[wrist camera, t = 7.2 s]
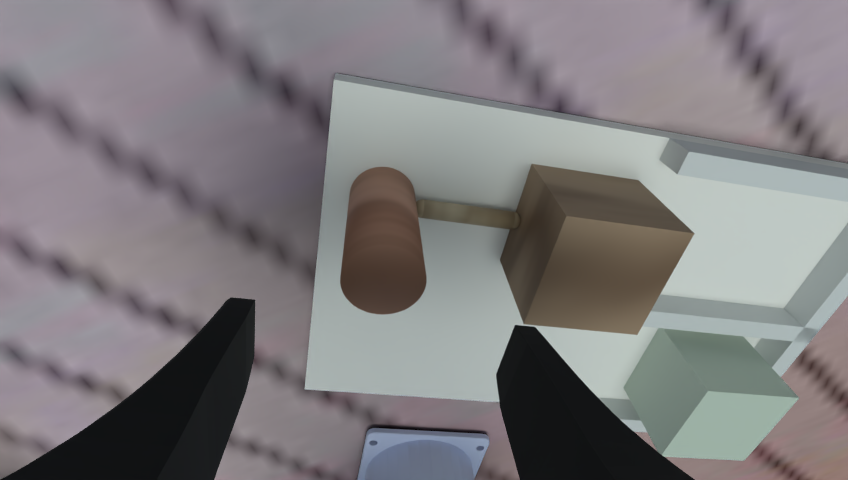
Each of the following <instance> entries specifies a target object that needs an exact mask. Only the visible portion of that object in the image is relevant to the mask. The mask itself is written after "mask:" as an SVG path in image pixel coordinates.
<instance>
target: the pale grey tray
mask: <svg viewBox="0 0 848 480" xmlns="http://www.w3.org/2000/svg"><path fill="white" fill-rule="evenodd" d="M531 164H537V165H544V166H550V167H557V168H563V169H569V170H576V171H582V172H589V173H595V174H602V175H608V176H615V177H621V178H628V179H634V180H639V181H640V182H641V183H642V184H643V185H644V186H645V187H646V188H647V189H648V190H649V191H650V192H651V193H653V194H654V195H655V196H656V197H657V198H658V199H659V200H660V201H661V202H662V203H663V204H664V205H665V206H666V207H667V208H668V209H669V210H670V211H671V212H673V213H674V214H675V215H676V216H677V217H678V218H679V219H680V220H681V221H682V222H683V223H684V224H685V225H686V226H687V227H688V228H689V229H690V230H691V231H693V232H694V233H695V234H694V235H693V237H692V239H691V241H690V243H689V244H688V246H687V248H686V250H685V251H684V253H683V255H682V257H681V258H680V260H679V262H678V264H677V266H676V267H675V269H674V271H673V273H672V274H671V276H670V278H669V280H668V281H667V283H666V285H665V287H664V289H663V290H662V292H661V294H660V296H659V297H658V299H657V301H656V303H655V304H654V306H653V308H652V310H651V312H650V313H649V315H648V317H647V319H646V320H645V322H644V324H643V326H642V327H641V329H640V331H639V333H638V335H632V334H622V333H611V332H601V331H590V330H579V329H569V328H558V327H548V326H537V325H527V324H523V321H522V318H521V316H520V313H519V310H518V308H517V305H516V302H515V299H514V297H513V294H512V291H511V289H510V286H509V283H508V281H507V278H506V275H505V273H504V270H503V267H502V264H501V262H500V258H501V255H502V252H503V249H504V246H505V243H506V240H507V237H508V234H509V231H510V229H502V228H495V227H487V226H479V225H471V224H464V223H456V222H448V221H440V220H433V219H425V218H419V217H418V219H419V227H420V234H421V241H422V248H423V255H424V262H425V269H426V277H427V282H426V287H425V290H424V292H423V294H422V296H421V297H420V299H419V300H418V301H417V302H416V303H415V304H413V305H412V306H410V307H409V308H407V309H405V310H403V311H400V312H397V313H393V314H384V315H382V314H372V313H368V312H365V311H363V310H360V309H358V308H357V307H355V306H354V305H352V304H351V303H350V302H349V301H348V300H347V299H346V297H345V296H344V294H343V292H342V289H341V285H340V275H341V266H342V257H343V248H344V239H345V230H346V221H347V212H348V203H349V194H350V189H351V186H352V184H353V182H354V180H355V179H356V178H357V177H358V176H359V175H360V174H361V173H362V172H364V171H366V170H368V169H371V168H374V167H390V168H393V169H396V170H398V171H400V172H402V173H403V174H404V175H406V176H407V177H408V179H409V180H410V181H411V183H412V185H413V187H414V191H415V198H416V201H418V200H420V199H425V200H432V201H440V202H447V203H454V204H462V205H469V206H476V207H484V208H491V209H499V210H506V211H513V212H516V210H517V207H518V203H519V200H520V197H521V194H522V191H523V188H524V185H525V182H526V179H527V176H528V173H529V170H530V167H531ZM847 296H848V163H843V162H837V161H831V160H826V159H820V158H814V157H809V156H803V155H797V154H792V153H786V152H780V151H775V150H769V149H763V148H758V147H752V146H746V145H741V144H735V143H729V142H724V141H718V140H712V139H707V138H701V137H695V136H690V135H684V134H678V133H673V132H667V131H661V130H656V129H650V128H644V127H639V126H633V125H627V124H622V123H616V122H610V121H605V120H599V119H593V118H588V117H582V116H576V115H571V114H565V113H559V112H554V111H548V110H542V109H537V108H531V107H525V106H520V105H514V104H508V103H503V102H497V101H491V100H486V99H480V98H474V97H469V96H463V95H457V94H452V93H446V92H440V91H435V90H429V89H423V88H418V87H412V86H406V85H401V84H395V83H389V82H384V81H378V80H372V79H367V78H361V77H355V76H350V75H344V74H338V73H336V74H335V78H334V84H333V94H332V105H331V115H330V126H329V137H328V147H327V158H326V168H325V179H324V190H323V200H322V211H321V221H320V232H319V243H318V253H317V264H316V274H315V285H314V296H313V306H312V317H311V327H310V338H309V349H308V359H307V370H306V380H305V389H308V390H323V391H338V392H353V393H368V394H383V395H398V396H413V397H428V398H443V399H458V400H473V401H488V402H499V395H498V388H497V380H496V373H497V371H498V368H499V365H500V363H501V360H502V357H503V355H504V352H505V350H506V347H507V344H508V342H509V339H510V337H511V334H512V331H513V329H514V326H515V325H521V326H532V327H536V328H537V330H538V331H539V332H540V333H541V334H542V335H543V336H544V337H545V339H546V340H547V341H548V342H549V343H550V344H551V346H552V347H553V348H554V349H555V350H556V352H557V353H558V354H559V355H560V356H561V357H562V359H563V360H564V361H565V362H566V363H567V364H568V365H569V367H570V368H571V369H572V370H573V371H574V372H575V373H576V375H577V376H578V377H579V378H580V379H581V380H582V381H583V382H584V383H585V385H586V386H587V387H588V388H589V389H590V390H591V391H592V392H593V393H594V394H595V395H596V396H597V397H598V398H599V399H600V400H601V401H602V402H603V403H604V404H605V405H606V406H607V407H608V408H609V409H610V410H611V411H612V412H613V413H614V414H615V415H616V416H617V417H618V418H619V419H620V420H621V421H622V422H623V423H624V424H626V425H627V426H628V427H629V428H630V429H631V430H632V431H634V432H647V431H646V429H645V427H644V425H643V423H642V421H641V419H640V418H639V416H638V414H637V412H636V410H635V408H634V406H633V405H632V403H631V401H630V399H629V397H628V395H627V393H626V392H625V390H624V388H623V387H624V386H625V384H626V382H627V381H628V379H629V377H630V376H631V374H632V372H633V371H634V369H635V367H636V365H637V364H638V362H639V360H640V359H641V357H642V355H643V354H644V352H645V350H646V349H647V347H648V345H649V343H650V342H651V340H652V338H653V337H654V335H655V333H656V332H657V330H658V328H664V329H674V330H684V331H694V332H704V333H714V334H724V335H734V336H743V337H744V338H745V339H746V340H747V341H748V342H749V343H750V344H751V345H752V346H753V348H754V349H755V350H756V351H757V352H758V353H759V354H760V355H761V356H762V357H763V359H764V360H765V361H766V362H767V363H768V364H769V365H770V366H771V367H772V369H773V370H774V371H775V372H776V373H777V374H778V375H779V376H780V377H781V376H782V375H783V374H784V372H785V371H786V370H787V369H788V368H789V366H790V365H791V364H792V363H793V362H794V360H795V359H796V358H797V357H798V355H799V354H800V353H801V352H802V351H803V349H804V348H805V347H806V346H807V345H808V343H809V342H810V341H811V340H812V338H813V337H814V336H815V335H816V334H817V332H818V331H819V330H820V329H821V328H822V326H823V325H824V324H825V323H826V322H827V320H828V319H829V318H830V317H831V315H832V314H833V313H834V312H835V311H836V309H837V308H838V307H839V306H840V305H841V303H842V302H843V301H844V300H845V298H846V297H847Z"/></svg>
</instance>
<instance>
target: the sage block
mask: <svg viewBox="0 0 848 480" xmlns="http://www.w3.org/2000/svg"><path fill="white" fill-rule="evenodd" d="M623 388H624V390H625V392H626V393H627V395H628V397H629V399H630V401H631V403H632V405H633V406H634V408H635V410H636V412H637V414H638V416H639V418H640V419H641V421H642V423H643V425H644V427H645V429H646V431H647V432H648V434H649V436H650V438H651V440H652V442H653V444H654V445H655V447H656V449H657V451H658V453H660V454H661V455H662V456H664V457H682V458H702V459H722V460H742V461H744V460H745V459H746V458H747V457H748V456H749V455H750V453H751V452H752V451H753V450H754V449H755V448H756V447H757V445H758V444H759V443H760V442H761V441H762V440H763V439H764V438H765V436H766V435H767V434H768V433H769V432H770V431H771V430H772V428H773V427H774V426H775V425H776V424H777V423H778V422H779V421H780V419H781V418H782V417H783V416H784V415H785V414H786V413H787V411H788V410H789V409H790V408H791V407H792V406H793V405H794V404H795V402H796V401H797V400H798V399H799V397H798V396H797V395H796V394H795V393H794V392H793V391H792V390H791V388H790V387H789V386H788V385H787V384H786V383H785V382H784V381H783V380H782V378H781V377H780V376H779V375H778V374H777V373H776V372H775V371H774V370H773V369H772V367H771V366H770V365H769V364H768V363H767V362H766V361H765V360H764V359H763V357H762V356H761V355H760V354H759V353H758V352H757V351H756V350H755V349H754V348H753V346H752V345H751V344H750V343H749V342H748V341H747V340H746V339H745V338H744V337H743V336H734V335H724V334H714V333H704V332H694V331H684V330H674V329H664V328H658V330H657V332H656V333H655V335H654V337H653V338H652V340H651V342H650V343H649V345H648V347H647V349H646V350H645V352H644V354H643V355H642V357H641V359H640V360H639V362H638V364H637V365H636V367H635V369H634V371H633V372H632V374H631V376H630V377H629V379H628V381H627V382H626V384H625V386H624V387H623Z"/></svg>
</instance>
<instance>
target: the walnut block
mask: <svg viewBox="0 0 848 480" xmlns="http://www.w3.org/2000/svg"><path fill="white" fill-rule="evenodd" d="M418 217H419V218H425V219H433V220H440V221H448V222H456V223H464V224H471V225H479V226H487V227H495V228H502V229H510V231H509V234H508V237H507V240H506V243H505V246H504V249H503V252H502V255H501V258H500V262H501V264H502V267H503V270H504V273H505V275H506V278H507V281H508V283H509V286H510V289H511V291H512V294H513V297H514V299H515V302H516V305H517V308H518V310H519V313H520V316H521V318H522V321H523V324H527V325H537V326H548V327H558V328H569V329H579V330H590V331H601V332H611V333H622V334H632V335H638V333H639V331H640V329H641V327H642V326H643V324H644V322H645V320H646V319H647V317H648V315H649V313H650V312H651V310H652V308H653V306H654V304H655V303H656V301H657V299H658V297H659V296H660V294H661V292H662V290H663V289H664V287H665V285H666V283H667V281H668V280H669V278H670V276H671V274H672V273H673V271H674V269H675V267H676V266H677V264H678V262H679V260H680V258H681V257H682V255H683V253H684V251H685V250H686V248H687V246H688V244H689V243H690V241H691V239H692V237H693V235H694V234H695V233H694V232H693V231H691V230H690V229H689V228H688V227H687V226H686V225H685V224H684V223H683V222H682V221H681V220H680V219H679V218H678V217H677V216H676V215H675V214H674V213H673V212H671V211H670V210H669V209H668V208H667V207H666V206H665V205H664V204H663V203H662V202H661V201H660V200H659V199H658V198H657V197H656V196H655V195H654V194H653V193H651V192H650V191H649V190H648V189H647V188H646V187H645V186H644V185H643V184H642V183H641V182H640V181H639V180H634V179H628V178H621V177H615V176H608V175H602V174H595V173H589V172H582V171H576V170H569V169H563V168H557V167H550V166H544V165H537V164H531V167H530V170H529V173H528V176H527V179H526V182H525V185H524V188H523V191H522V194H521V197H520V200H519V203H518V207H517V210H516V212H513V211H506V210H499V209H491V208H484V207H476V206H469V205H462V204H454V203H447V202H440V201H432V200H425V199H420V200H418V201H416V198H415V191H414V187H413V185H412V183H411V181H410V180H409V179H408V177H407V176H406V175H404V174H403V173H402V172H400V171H398V170H396V169H393V168H390V167H374V168H371V169H368V170H366V171H364V172H362V173H361V174H360V175H359V176H358V177H357V178H356V179H355V180H354V182H353V184H352V186H351V189H350V194H349V203H348V212H347V221H346V230H345V239H344V248H343V257H342V266H341V275H340V285H341V289H342V292H343V294H344V296H345V297H346V299H347V300H348V301H349V302H350V303H351V304H352V305H354V306H355V307H357V308H358V309H360V310H363V311H365V312H368V313H372V314H382V315H384V314H393V313H397V312H400V311H403V310H405V309H407V308H409V307H410V306H412V305H413V304H415V303H416V302H417V301H418V300H419V299H420V297H421V296H422V294H423V292H424V290H425V287H426V282H427V277H426V269H425V262H424V255H423V248H422V241H421V234H420V227H419V219H418Z"/></svg>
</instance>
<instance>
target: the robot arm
mask: <svg viewBox="0 0 848 480" xmlns="http://www.w3.org/2000/svg"><path fill="white" fill-rule="evenodd" d="M254 342H255V300H251V299H241V298H230V299H228V300H227V301H226V302H225V303H224V304H223V306H222V307H221V308H220V309H219V310H218V311H217V313H216V314H215V315H214V316H213V317H212V318H211V319H210V321H209V322H208V323H207V324H206V325H205V326H204V327H203V328H202V329H201V330H200V332H199V333H198V334H197V335H196V336H195V337H194V338H193V339H192V340H191V341H190V342H189V343H188V344H187V345H186V346H185V347H184V348H183V349H182V350H181V351H180V352H179V353H178V354H177V355H176V356H175V357H174V358H173V359H171V360H170V361H169V362H168V363H167V364H166V365H165V366H164V367H163V368H162V369H160V370H159V371H158V372H157V373H156V374H155V375H154V376H153V377H152V378H151V379H149V380H148V381H147V382H146V383H145V384H143V385H142V386H141V387H140V388H139V389H137V390H136V391H135V392H134V393H133V394H131V395H130V396H129V397H127V398H126V399H125V400H124V401H122V402H121V403H120V404H118V405H117V406H116V407H114V408H113V409H112V410H110V411H109V412H108V413H106V414H105V415H103V416H102V417H101V418H99V419H98V420H96V421H95V422H94V423H92V424H91V425H89V426H88V427H87V428H85V429H84V430H82V431H81V432H79V433H78V434H76V435H75V436H73V437H72V438H70V439H69V440H67V441H65V442H64V443H62V444H60V445H59V446H57V447H56V448H54V449H52V450H51V451H49V452H47V453H46V454H44V455H43V456H41V457H39V458H38V459H36V460H34V461H33V462H31V463H30V464H28V465H26V466H24V467H23V468H21V469H19V470H18V471H16V472H14V473H12V474H11V475H9V476H7V477H5V478H3V479H1V480H214V478H215V475H216V472H217V469H218V467H219V464H220V461H221V458H222V456H223V453H224V450H225V448H226V445H227V442H228V439H229V437H230V434H231V431H232V428H233V426H234V423H235V420H236V417H237V415H238V412H239V409H240V406H241V404H242V401H243V398H244V395H245V392H246V389H247V385H248V381H249V377H250V372H251V368H252V364H253V359H254ZM496 380H497V388H498V395H499V402H500V408H501V412H502V416H503V420H504V423H505V427H506V431H507V434H508V438H509V442H510V445H511V449H512V452H513V456H514V459H515V463H516V467H517V470H518V474H519V477H520V480H694V479H693V478H692V477H690V476H689V475H688V474H686V473H685V472H683V471H682V470H681V469H679V468H678V467H677V466H675V465H674V464H673V463H671V462H670V461H669V460H667V459H666V458H665V457H664V456H662V455H661V454H660V453H658V452H657V451H656V450H655V449H653V448H652V447H651V446H650V445H649V444H647V443H646V442H645V441H644V440H643V439H641V438H640V437H639V436H638V435H637V434H636V433H635V432H633V431H632V430H631V429H630V428H629V427H628V426H627V425H626V424H624V423H623V422H622V421H621V420H620V419H619V418H618V417H617V416H616V415H615V414H614V413H613V412H612V411H611V410H610V409H609V408H608V407H607V406H606V405H605V404H604V403H603V402H602V401H601V400H600V399H599V398H598V397H597V396H596V395H595V394H594V393H593V392H592V391H591V390H590V389H589V388H588V387H587V386H586V385H585V383H584V382H583V381H582V380H581V379H580V378H579V377H578V376H577V375H576V373H575V372H574V371H573V370H572V369H571V368H570V367H569V365H568V364H567V363H566V362H565V361H564V360H563V359H562V357H561V356H560V355H559V354H558V353H557V352H556V350H555V349H554V348H553V347H552V346H551V344H550V343H549V342H548V341H547V340H546V339H545V337H544V336H543V335H542V334H541V333H540V332H539V331H538V330H537V328H536V327H532V326H521V325H515V326H514V329H513V331H512V334H511V337H510V339H509V342H508V344H507V347H506V350H505V352H504V355H503V357H502V360H501V363H500V365H499V368H498V371H497V373H496ZM489 442H490V441H489V437H488V436H487V435H486V434H477V433H459V432H441V431H422V430H404V429H386V428H372V429H369V430H368V431H367V433H366V438H365V443H364V448H363V453H362V458H361V462H360V467H359V472H358V477H357V480H474V479H475V476H476V474H477V471H478V469H479V467H480V464H481V462H482V460H483V457H484V455H485V452H486V450H487V448H488V445H489Z"/></svg>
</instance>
